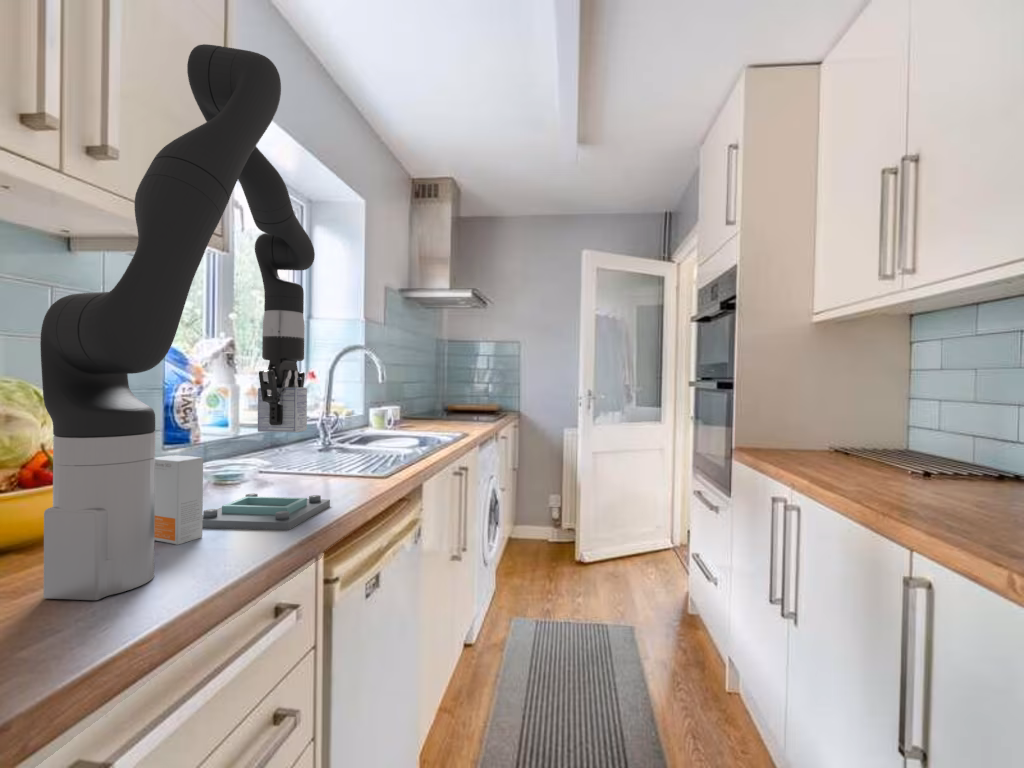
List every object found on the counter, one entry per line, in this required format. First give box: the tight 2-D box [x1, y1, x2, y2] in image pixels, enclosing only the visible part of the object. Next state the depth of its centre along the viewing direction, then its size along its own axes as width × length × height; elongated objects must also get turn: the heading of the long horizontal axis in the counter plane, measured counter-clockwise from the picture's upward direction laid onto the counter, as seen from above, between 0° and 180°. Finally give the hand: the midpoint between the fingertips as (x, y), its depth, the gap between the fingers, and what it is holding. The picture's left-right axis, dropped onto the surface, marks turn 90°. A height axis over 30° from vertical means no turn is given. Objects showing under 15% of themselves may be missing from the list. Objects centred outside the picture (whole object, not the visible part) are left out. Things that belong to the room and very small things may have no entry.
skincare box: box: [154, 454, 204, 546], centre depth 78 cm, size 6×4×12 cm
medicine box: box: [257, 386, 308, 433], centre depth 103 cm, size 8×4×9 cm, turn 85°
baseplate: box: [202, 492, 331, 531], centre depth 91 cm, size 16×16×2 cm
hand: (282, 423), depth 103 cm, fingers closed on medicine box, 4 cm apart
